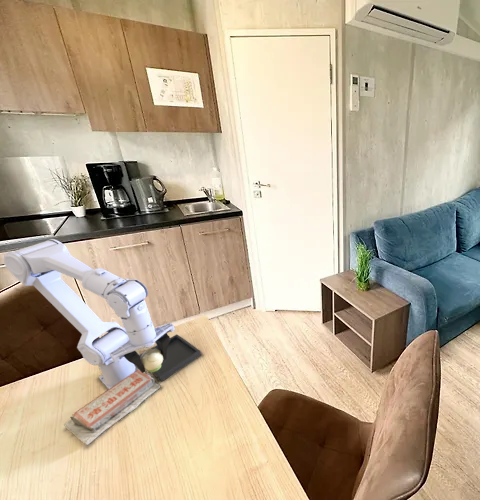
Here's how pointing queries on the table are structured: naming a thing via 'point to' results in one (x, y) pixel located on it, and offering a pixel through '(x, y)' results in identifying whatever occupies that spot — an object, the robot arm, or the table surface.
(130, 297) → the robot arm
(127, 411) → the packaged product
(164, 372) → the tray
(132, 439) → the table surface
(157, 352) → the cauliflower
